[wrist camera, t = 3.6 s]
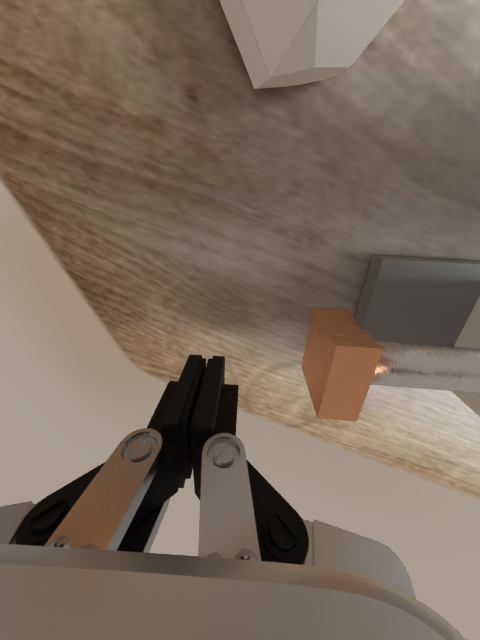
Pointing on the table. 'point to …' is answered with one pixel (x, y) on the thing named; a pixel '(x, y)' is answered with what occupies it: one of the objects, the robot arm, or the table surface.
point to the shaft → (375, 365)
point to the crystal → (303, 36)
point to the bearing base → (423, 304)
